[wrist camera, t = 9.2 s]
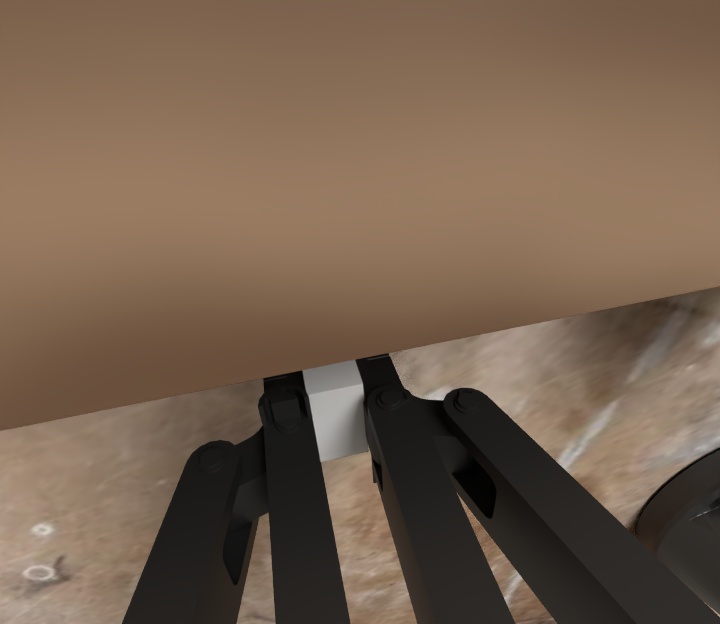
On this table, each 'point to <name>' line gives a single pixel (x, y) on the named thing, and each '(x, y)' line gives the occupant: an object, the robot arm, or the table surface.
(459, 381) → the table surface
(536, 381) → the table surface
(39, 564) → the table surface
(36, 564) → the table surface
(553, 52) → the shelf
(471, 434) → the robot arm
